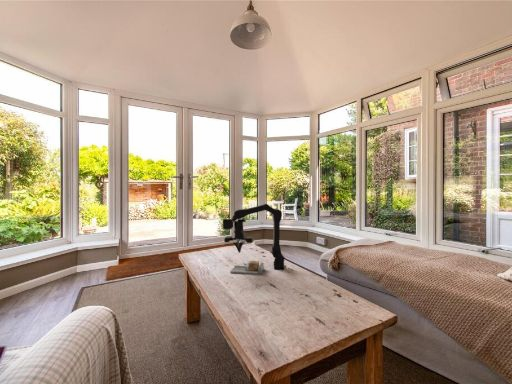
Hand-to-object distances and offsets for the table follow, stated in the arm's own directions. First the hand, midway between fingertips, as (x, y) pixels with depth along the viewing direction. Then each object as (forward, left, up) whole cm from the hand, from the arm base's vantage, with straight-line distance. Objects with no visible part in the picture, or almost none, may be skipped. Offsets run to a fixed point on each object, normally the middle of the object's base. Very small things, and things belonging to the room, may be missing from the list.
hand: (239, 252), depth 158 cm
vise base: (-5, 0, -12) cm, 13 cm away
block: (-9, 0, -11) cm, 14 cm away
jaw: (-5, 0, -11) cm, 12 cm away
